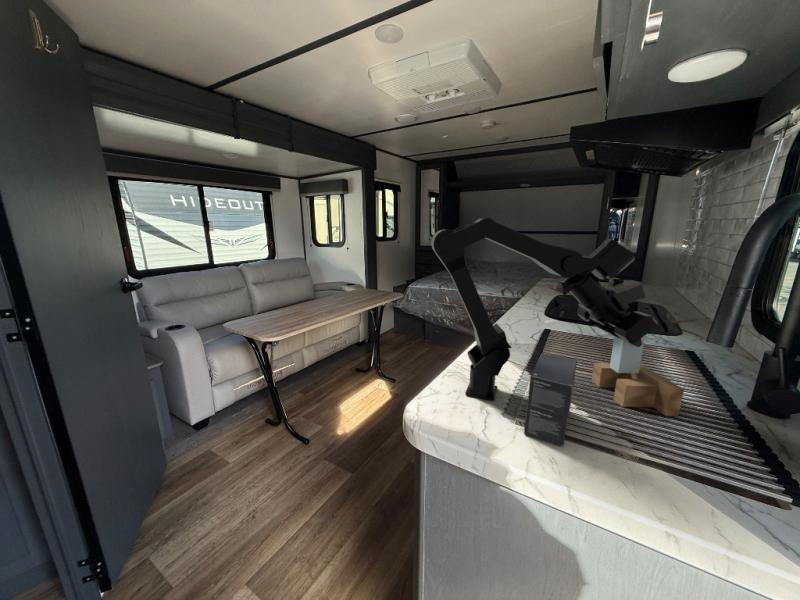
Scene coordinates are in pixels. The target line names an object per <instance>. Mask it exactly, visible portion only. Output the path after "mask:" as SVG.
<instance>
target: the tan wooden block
mask: <svg viewBox="0 0 800 600" xmlns="http://www.w3.org/2000/svg"><path fill="white" fill-rule="evenodd" d="M591 382H592V383H593V384H594V383H595V384H596V385H595V384H594V385H595V386H597V387H598V388H614V395H613V401H614V402H616V403H617V404H618V405H619V406H620V407H623V408H654V409H655V410H656V411H658V412H660V413H661V414H662V415H664V416H665V417H679V415H680V411H681V407H682V401H683V396H684V392H685V389H684V388H683V387H681V386H679V385H677V384H676V383H674V382H673V381H670V380H669V379H667V378H665V377H664V376H662V375H660V374H658V373H657V372H655V371H653V370H651V369H650V368H648V367H647V366H644V365H643V364H642V363H640V368H639V373H617V372H616V371H614V370H613V369H611V368H610V362H593V368H592V378H591Z"/></svg>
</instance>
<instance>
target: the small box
mask: <svg viewBox="0 0 800 600" xmlns="http://www.w3.org/2000/svg"><path fill="white" fill-rule="evenodd" d="M577 364H578V360H577V359H573V358H569V357H564V356H559V355H554V354H548V353H545V352H543V353H541V354H540V355H539V357H538V360H537V362H536V364H535V366H534V367H533V369H532V372H531V374H530V377H529V385H528V386H529V389H528V398H527V407H526V412H525V413H526V414H525V420H524V427H523V428H524V429H523V434H524V435H526V436H528V437H532V438H535V439H538V440H540V441H544V442H547V443H550V444H553V445H555V446H559V447H564V444H565V438H566V433H567V432H566V431H567V429H568V428H567V427H568V422H569V416H570V411H571V406H572V399H573V398H572V397H573V393H574V386H575V379H576V371H577Z"/></svg>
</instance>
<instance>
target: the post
mask: <svg viewBox="0 0 800 600" xmlns="http://www.w3.org/2000/svg"><path fill="white" fill-rule="evenodd" d="M641 341H642V345H641V346H640V347H637V346H635V345H632V344H630V343H628V342H626V341H624V340H622V339H619V338H617V337H615V336H613V344H612V350H611V354H610V355H611V357H610V362H609V363H610V368H611V369H613V370H614V371H616V372H617V373H639V368H640V364H642V363H641V362H642V356H643V351H644V345H645V341H646V335H645V336H644V337H642V338H641Z"/></svg>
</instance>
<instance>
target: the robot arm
mask: <svg viewBox="0 0 800 600" xmlns="http://www.w3.org/2000/svg"><path fill="white" fill-rule="evenodd" d="M483 239H485V240H488V241H490V242H492V243H495V244H497V245H499V246H501V247H503V248H506V249H507V250H510V251H513V252H515V253H517V254H520V255H521V256H524V257H527V258H528V259H530V260H532V261H533V262H534V263H535V264H536V265H537V266H539V267H541V268H542V269H544V270H545V271H546V272H548V273H549V274H552V275H556V276H558V277H562V278H565V279H564V280H557V281H556V283H557V285H556V288H555V292H556V293H558V294H561V295H562V296H566V295H568V293H571V295H572V296H573V297H574V299H576V300H577V301H578V303H577V305H578V306H579V307H578V308H577V312H576V314H577V316H579V318H580V319H581V320H583V321H586V322H589V321H590V320H592V321H593V322H592V325H593V326H594V327H596V328H598V329H600V330H603V331H605V333H609V334H610V335H611V336H613V337H614V336H615V337H617V338H619V339H622V340H624V341H626V342H628V343H630V344H632V345H635V346H637V347H640V346H641V345H642V341H641V338H642V337H644V336H645V337H646V336H647V334H649V333H651V331H653V330H654V329H655V328H657V326H659V324H658V323H659V322H658V321H657V320H656V319H655V317H654V316H653V315H650V314H648V313H645V312H641V311H632V312H630V311H627V310H628V309H629V308H630V306H629V305H630V304H631V303H634V302H637V301H639V300H641V299H642V300H644V299H646V298H647V293H646V289H645V285H644V283H643V282H642V281H637V280H632V279H624V280H622V279H621V278H617V277H616V276H618V275H619V274H620V273H621V272H622V271H623V270H624V269H626V268H627V267H628V266H629V265H630V264H631V263H633V262H634V261H635V259H636V257H635V255H634V253H633V252H632V251H631V250H630V249H627V248H626V247H625V246H623V245H621V243H617V242H616V241H615V239H610V238H606V239H605V240H604V241H602V243H600V245H599V246H598V247H597V248H596V249H595V250H593V252H592V253H590V254H589V255H583V254H582V253H581V252H579V251H578V250H576V249H571V248H566V247H562V246H559V245H553V244H548V243H544V242H541V241H539V240H537V239H535V238H533V237H531V236H528V235H525V234H524V233H522V232H519V231H517V230H514V229H513V228H511V227H508V226H506V225H503V224H502V223H499V222H497V221H495V220H494V219H492V218H491V217H482V218H479V219H477V220H476V221H474V222H471V223H468V224H465V225H463V226H460V227H457V228H455V229H453V230H452V229H441V230H438V231H436V232H435V233H434V234H433V236H432V238H431V241H430V242H431V243H430V244H431V248H432V250H433V252H434V253H435V255H436V257H438V259H439V260H440V262H441V263H442V265H443V266H444V267H445V269H446V270H447V271H448V273H449V275H450V278H451V280H452V281H453V284H454V286H455V288H456V290H457V293H458V296H459V298H460V300H461V302H462V304H463V306H464V309H465V311H466V314H467V315H468V317H469V320H470V321H471V324H472V327H473V332H474V333H473V335H474V338H475V343H476V344H475V345H474V346H473V347H472V348H471V349H469V350H468V351H467V356H468V359H469V361H470V362H471V365H469V366H470V368H469V384H468V386H467V387H466V391H465V392H464V393H465V396H469V397H473V398H477V399H478V398H479V399H483V400H487V401H488V400H489V401H495V399H496V396H497V392H498V386H497V385H496V377H497V376H499V374H500V372H501V370H502V369H503V366H504V365H506V364H507V362H508V361H509V359H510V358H511V352H510V349H512V348H513V347H512V346H511V344H510V343H509V342H508V340H507V339H508V338H507V335H506V332H505V331H504V330H503V328H501V326H499V325H500V324H498V323H495V324H492V322H491V319H490V317H489V316H488V313H487V311H486V308H485V306H484V304H483V301H482V300H481V297H480V295H479V293H478V290H477V287H476V285H475V283H474V281H473V277H472V276H471V274H470V272H469V270H468V266H467V261H466V259H467V258H466V252H465V248H467V247H469V246H472V245H473V244H475V243H477V242H479V241H482V240H483ZM605 279H608V284H607V287H605V285H604V284H603V283H601V281H600V280H603V281H604V280H605ZM626 311H627V312H626ZM588 316H589V317H588Z"/></svg>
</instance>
